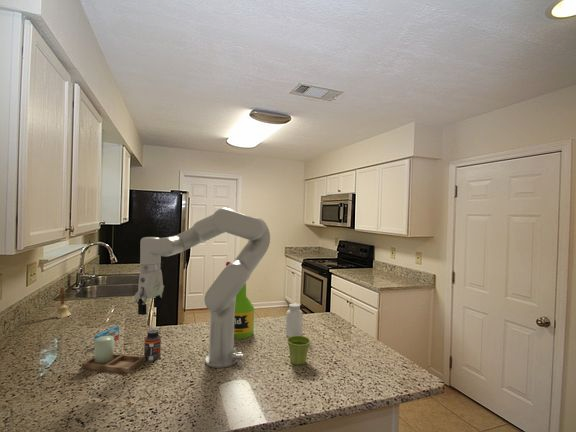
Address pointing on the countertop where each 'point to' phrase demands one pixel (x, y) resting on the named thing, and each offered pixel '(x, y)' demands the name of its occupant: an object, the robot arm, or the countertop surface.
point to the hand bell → (62, 306)
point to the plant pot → (298, 349)
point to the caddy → (116, 363)
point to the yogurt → (110, 333)
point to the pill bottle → (294, 320)
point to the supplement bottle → (152, 346)
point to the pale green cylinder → (103, 350)
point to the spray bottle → (243, 314)
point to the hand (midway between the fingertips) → (150, 310)
